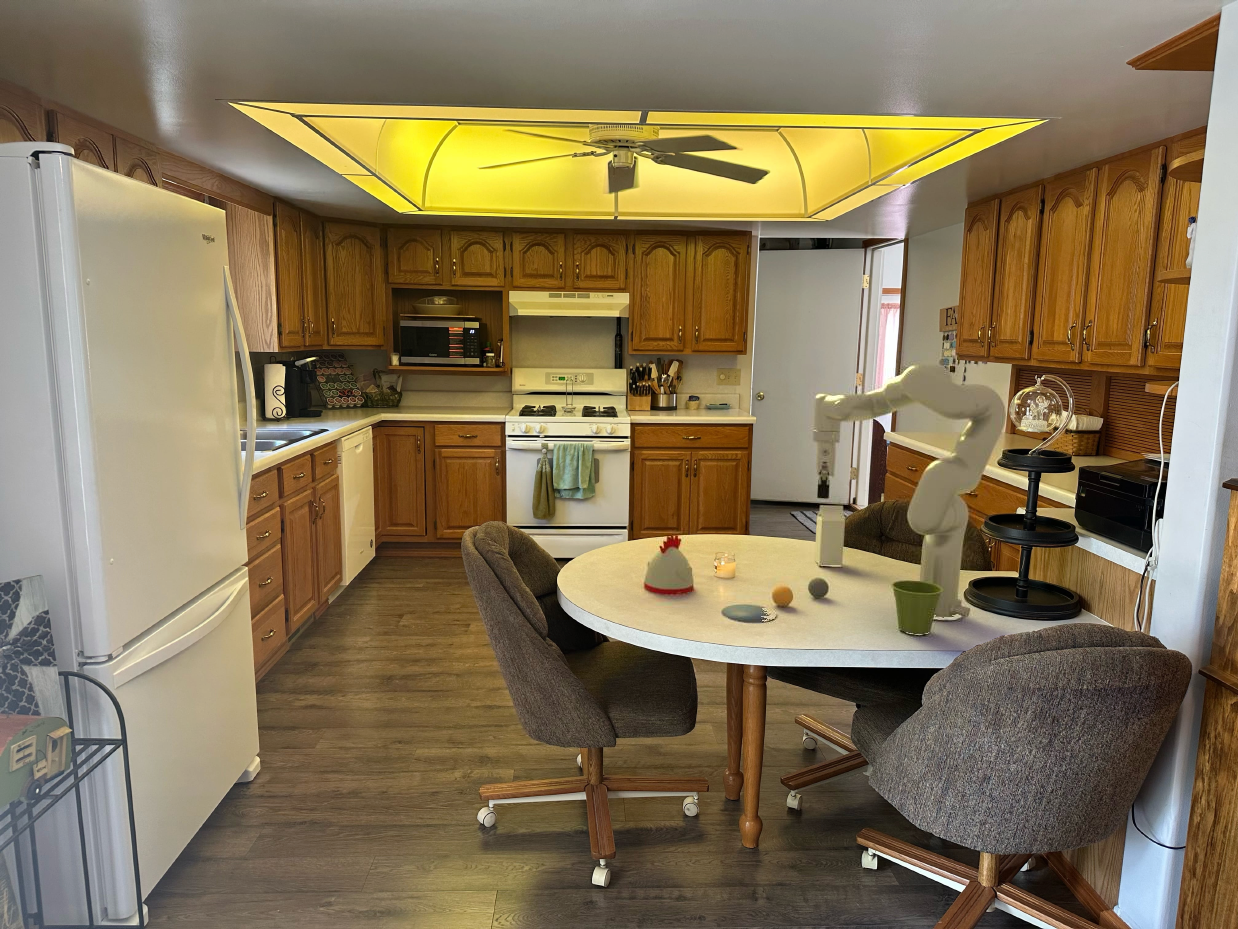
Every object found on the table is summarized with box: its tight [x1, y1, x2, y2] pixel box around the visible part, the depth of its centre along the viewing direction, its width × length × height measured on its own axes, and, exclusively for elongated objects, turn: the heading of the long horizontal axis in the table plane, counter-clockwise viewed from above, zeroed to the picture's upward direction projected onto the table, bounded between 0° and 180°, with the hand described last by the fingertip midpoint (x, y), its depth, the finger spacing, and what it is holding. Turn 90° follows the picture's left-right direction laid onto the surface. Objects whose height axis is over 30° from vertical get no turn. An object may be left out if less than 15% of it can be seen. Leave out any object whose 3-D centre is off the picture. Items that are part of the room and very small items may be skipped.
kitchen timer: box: [643, 534, 694, 596], centre depth 233 cm, size 14×14×15 cm
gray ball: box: [807, 577, 830, 599], centre depth 228 cm, size 6×6×6 cm
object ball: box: [771, 584, 794, 607], centre depth 219 cm, size 6×6×6 cm
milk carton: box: [814, 504, 846, 566], centre depth 262 cm, size 7×7×19 cm
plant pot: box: [890, 580, 943, 635], centre depth 202 cm, size 12×12×11 cm
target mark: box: [721, 603, 770, 623], centre depth 213 cm, size 14×14×1 cm
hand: (823, 495), depth 241 cm, fingers open, 9 cm apart
